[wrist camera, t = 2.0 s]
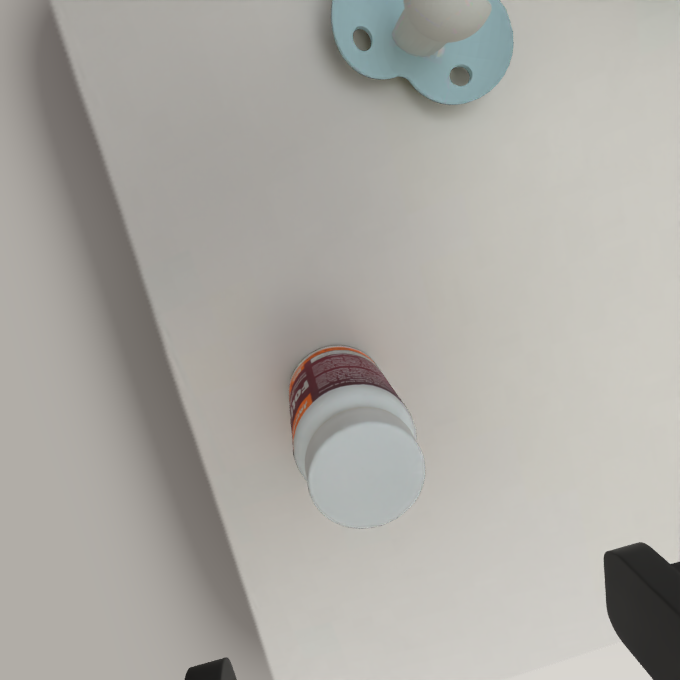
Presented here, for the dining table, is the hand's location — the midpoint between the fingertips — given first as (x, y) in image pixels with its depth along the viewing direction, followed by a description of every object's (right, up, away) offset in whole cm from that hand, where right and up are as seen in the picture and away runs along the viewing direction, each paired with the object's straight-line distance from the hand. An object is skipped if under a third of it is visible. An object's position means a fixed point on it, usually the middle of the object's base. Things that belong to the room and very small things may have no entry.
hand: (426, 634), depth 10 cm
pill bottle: (-2, +4, +14) cm, 15 cm away
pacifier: (+1, +20, +10) cm, 22 cm away
